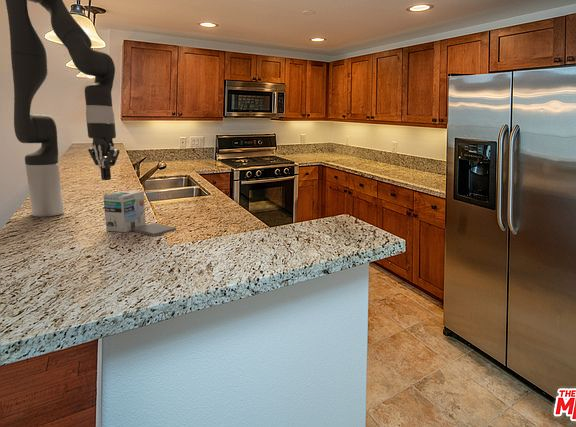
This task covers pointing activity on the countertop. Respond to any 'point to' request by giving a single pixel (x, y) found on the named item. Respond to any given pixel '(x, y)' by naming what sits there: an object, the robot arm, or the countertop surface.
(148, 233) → the plate
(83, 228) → the countertop surface
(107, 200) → the light bulb box
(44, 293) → the countertop surface
